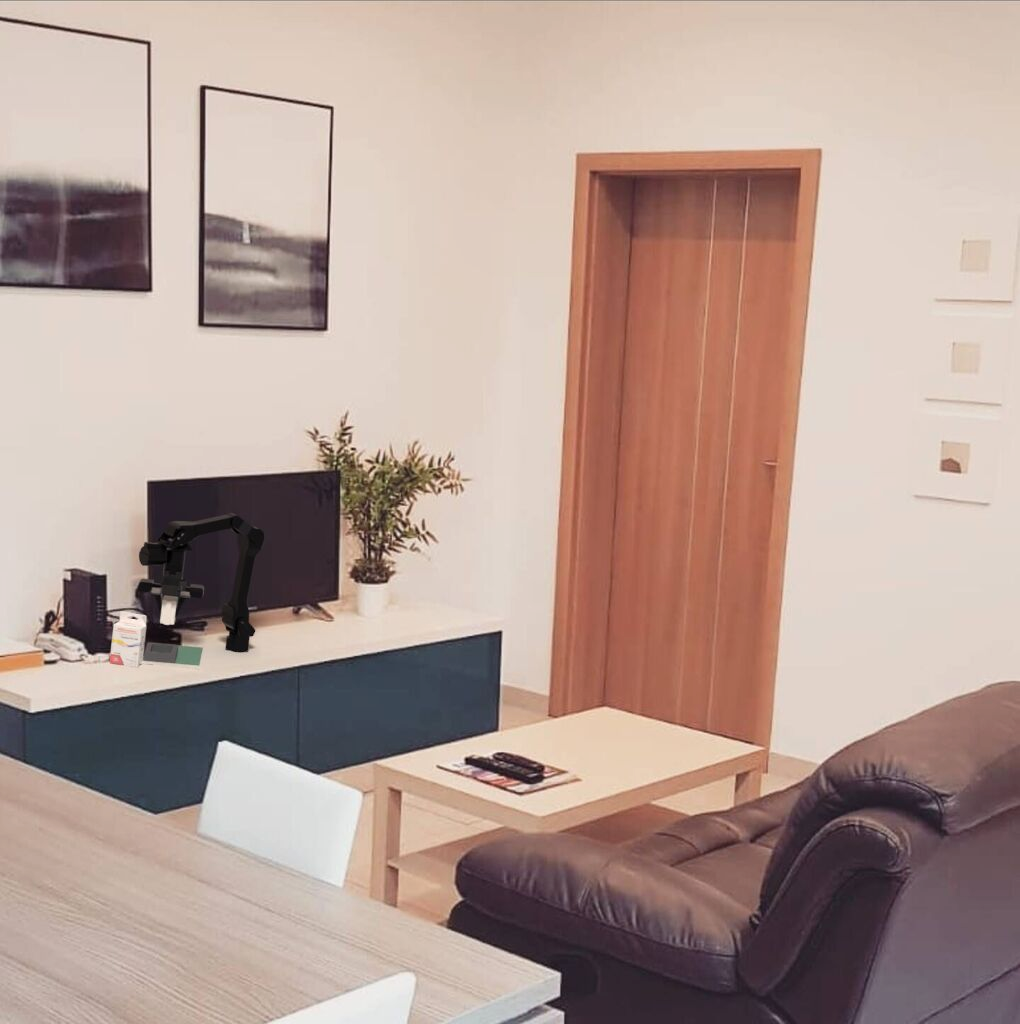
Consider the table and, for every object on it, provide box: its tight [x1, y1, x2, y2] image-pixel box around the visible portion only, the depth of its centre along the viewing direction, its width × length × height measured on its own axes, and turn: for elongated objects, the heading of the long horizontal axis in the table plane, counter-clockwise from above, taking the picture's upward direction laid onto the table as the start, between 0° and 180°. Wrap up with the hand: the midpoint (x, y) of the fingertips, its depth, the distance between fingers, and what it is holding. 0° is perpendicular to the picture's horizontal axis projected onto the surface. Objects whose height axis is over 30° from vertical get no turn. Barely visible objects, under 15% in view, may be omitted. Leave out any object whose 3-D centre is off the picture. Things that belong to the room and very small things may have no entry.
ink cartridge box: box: [109, 610, 148, 668], centre depth 443 cm, size 9×5×15 cm, turn 85°
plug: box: [159, 594, 179, 626], centre depth 451 cm, size 4×7×7 cm, turn 8°
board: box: [143, 642, 204, 667], centre depth 457 cm, size 16×20×4 cm
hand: (168, 616), depth 452 cm, fingers closed on plug, 4 cm apart
